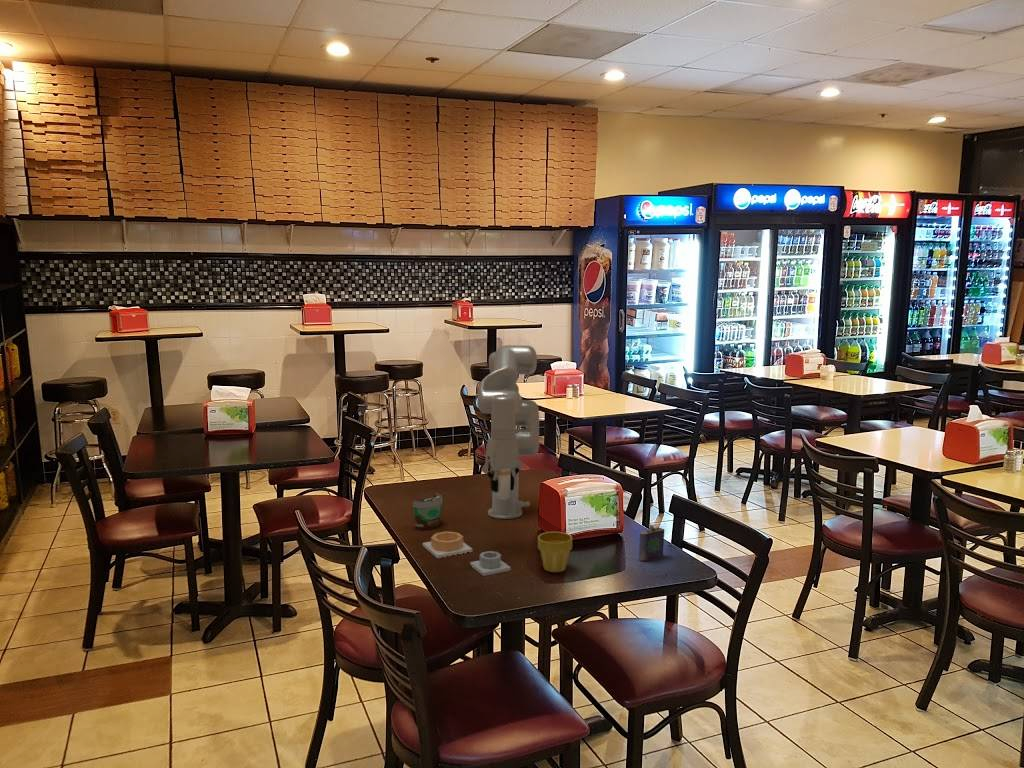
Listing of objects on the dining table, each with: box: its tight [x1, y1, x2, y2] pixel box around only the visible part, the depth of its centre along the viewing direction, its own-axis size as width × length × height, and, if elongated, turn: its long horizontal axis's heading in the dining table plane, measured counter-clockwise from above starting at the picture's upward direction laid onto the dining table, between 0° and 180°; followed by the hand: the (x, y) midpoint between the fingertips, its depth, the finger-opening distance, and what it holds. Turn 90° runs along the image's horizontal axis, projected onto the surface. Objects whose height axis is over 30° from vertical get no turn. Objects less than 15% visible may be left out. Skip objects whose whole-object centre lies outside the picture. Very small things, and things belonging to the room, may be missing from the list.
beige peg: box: [495, 468, 511, 500], centre depth 237 cm, size 5×5×10 cm
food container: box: [412, 492, 444, 530], centre depth 259 cm, size 12×6×10 cm, turn 143°
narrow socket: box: [469, 550, 512, 577], centre depth 224 cm, size 9×9×4 cm
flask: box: [638, 523, 665, 562], centre depth 233 cm, size 9×3×11 cm, turn 121°
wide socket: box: [422, 530, 473, 559], centre depth 239 cm, size 12×12×4 cm
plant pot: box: [537, 531, 573, 573], centre depth 224 cm, size 10×10×10 cm
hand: (502, 489), depth 238 cm, fingers closed on beige peg, 5 cm apart
